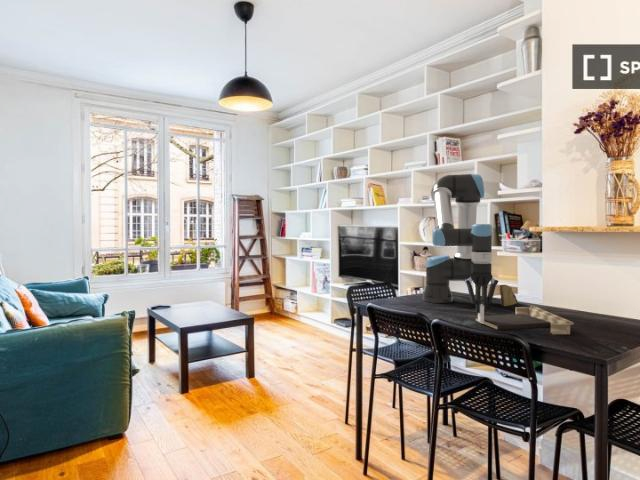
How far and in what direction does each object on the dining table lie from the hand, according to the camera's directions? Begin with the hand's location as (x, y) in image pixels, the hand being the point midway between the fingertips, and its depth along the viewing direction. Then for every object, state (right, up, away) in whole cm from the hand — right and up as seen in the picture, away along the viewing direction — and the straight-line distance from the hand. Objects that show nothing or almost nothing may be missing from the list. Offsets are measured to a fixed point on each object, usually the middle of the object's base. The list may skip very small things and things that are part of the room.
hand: (480, 320), depth 171 cm
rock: (+29, 0, +39) cm, 49 cm away
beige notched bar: (+24, -1, -1) cm, 24 cm away
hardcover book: (+13, -2, +1) cm, 13 cm away
